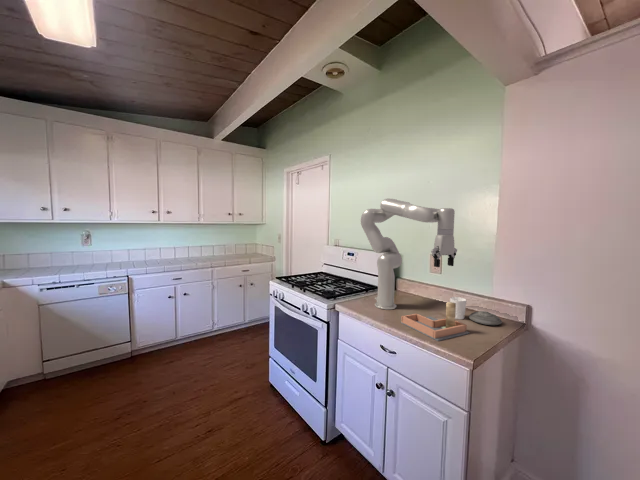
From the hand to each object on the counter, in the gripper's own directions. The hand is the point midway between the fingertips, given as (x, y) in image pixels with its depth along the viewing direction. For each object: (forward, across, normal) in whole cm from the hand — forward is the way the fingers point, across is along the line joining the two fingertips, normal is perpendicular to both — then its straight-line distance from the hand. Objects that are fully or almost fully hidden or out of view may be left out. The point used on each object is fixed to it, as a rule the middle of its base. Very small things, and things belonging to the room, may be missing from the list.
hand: (443, 266), depth 143 cm
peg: (+28, +6, +11) cm, 30 cm away
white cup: (+28, -12, 0) cm, 31 cm away
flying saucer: (+29, -20, +10) cm, 36 cm away
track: (+28, +12, +6) cm, 31 cm away
